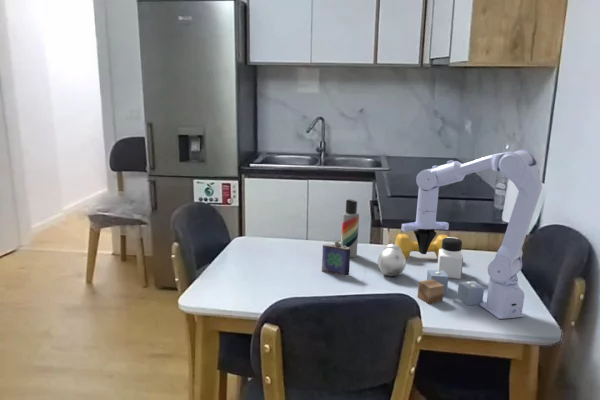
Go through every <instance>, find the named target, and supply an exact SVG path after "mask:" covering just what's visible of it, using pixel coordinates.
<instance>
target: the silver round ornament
mask: <svg viewBox="0 0 600 400" xmlns="http://www.w3.org/2000/svg"><path fill="white" fill-rule="evenodd" d="M377 265H378V268H379V271H380V272H381V273H383V274H384V275H385V276H388V277H395V276H398V275H401V274H402V272H403V271H404V270H405V268H406V265H407V258H406V259H405V256H404V254H403V253H402V249H401V248H400V247H399V246H396V245H395V243H389V244H387V245H385V246H384V249H383V250H382V251H381V252H380V253H379V256H378V258H377Z"/></svg>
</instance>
